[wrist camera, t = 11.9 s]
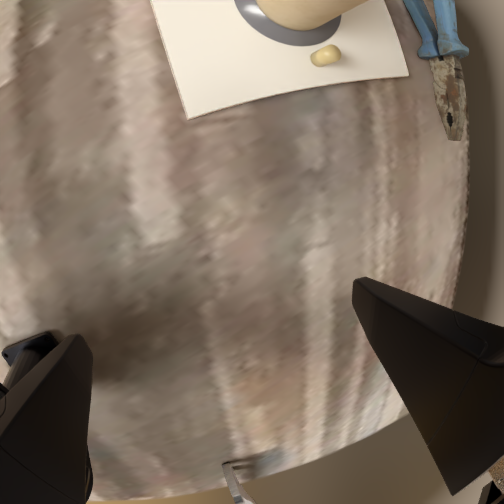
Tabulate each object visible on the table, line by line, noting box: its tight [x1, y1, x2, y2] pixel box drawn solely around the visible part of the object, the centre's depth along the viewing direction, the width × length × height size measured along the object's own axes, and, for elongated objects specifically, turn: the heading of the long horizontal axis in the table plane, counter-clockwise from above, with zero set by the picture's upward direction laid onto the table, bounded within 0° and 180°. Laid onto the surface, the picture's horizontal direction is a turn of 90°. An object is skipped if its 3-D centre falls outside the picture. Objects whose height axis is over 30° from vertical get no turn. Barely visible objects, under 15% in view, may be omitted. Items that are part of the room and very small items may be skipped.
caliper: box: [222, 463, 256, 504], centre depth 32 cm, size 20×1×6 cm, turn 11°
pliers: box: [403, 0, 469, 141], centre depth 16 cm, size 20×2×6 cm, turn 7°
